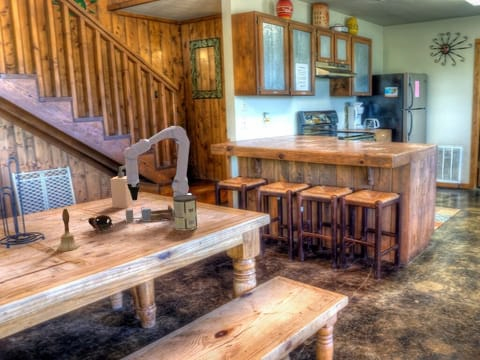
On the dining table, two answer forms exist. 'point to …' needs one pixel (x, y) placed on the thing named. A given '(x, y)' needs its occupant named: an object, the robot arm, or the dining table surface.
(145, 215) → the tethered block
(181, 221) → the coffee can
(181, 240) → the dining table surface
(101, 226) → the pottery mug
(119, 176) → the soap dispenser
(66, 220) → the hand bell
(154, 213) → the walnut lane
